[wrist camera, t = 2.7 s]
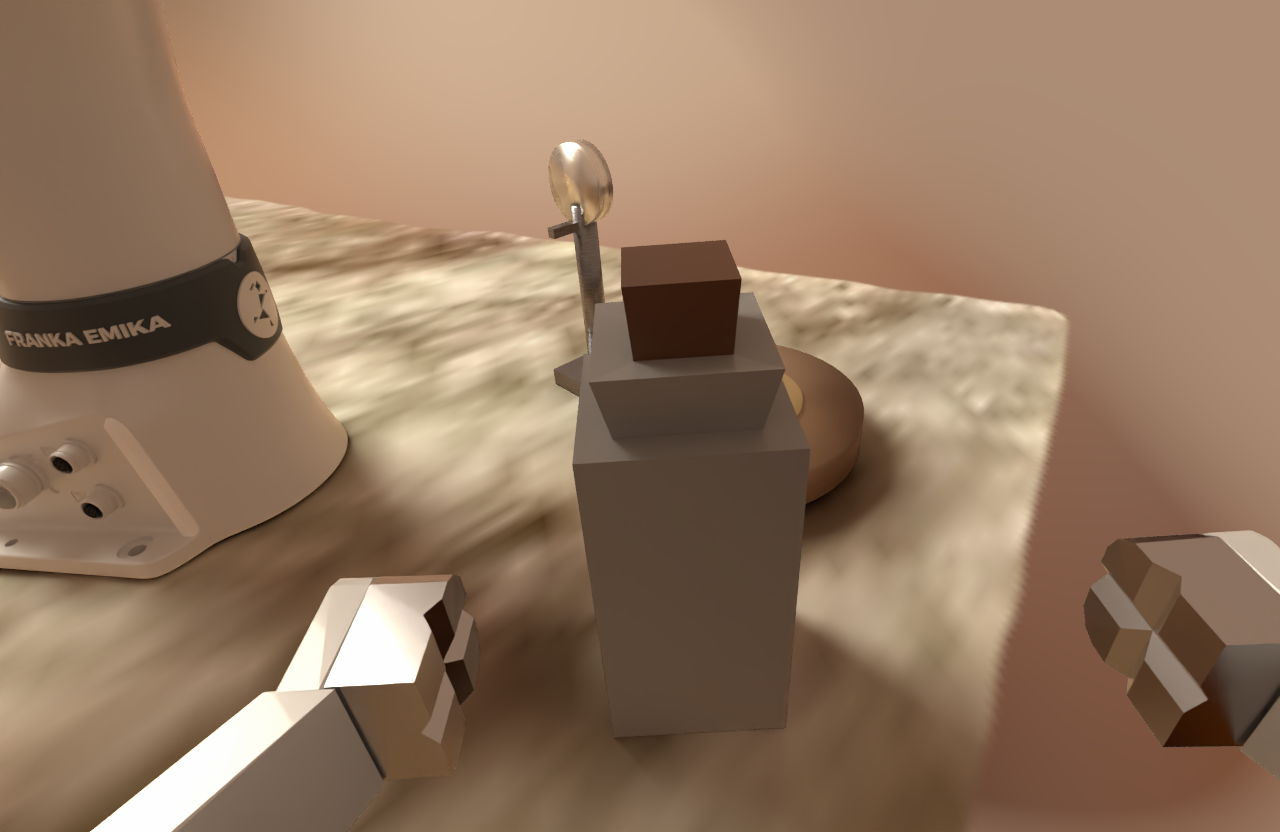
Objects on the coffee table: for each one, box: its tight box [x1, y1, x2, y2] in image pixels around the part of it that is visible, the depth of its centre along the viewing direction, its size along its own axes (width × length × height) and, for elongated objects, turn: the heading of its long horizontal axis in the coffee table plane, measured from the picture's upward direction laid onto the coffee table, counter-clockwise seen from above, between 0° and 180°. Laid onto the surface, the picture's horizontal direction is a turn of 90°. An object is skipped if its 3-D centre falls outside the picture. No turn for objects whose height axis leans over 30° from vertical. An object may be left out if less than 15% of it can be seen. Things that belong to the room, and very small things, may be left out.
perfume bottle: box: [572, 240, 810, 738], centre depth 24 cm, size 7×7×18 cm
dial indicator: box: [548, 140, 613, 397], centre depth 45 cm, size 5×5×17 cm
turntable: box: [776, 345, 864, 504], centre depth 41 cm, size 16×16×3 cm
